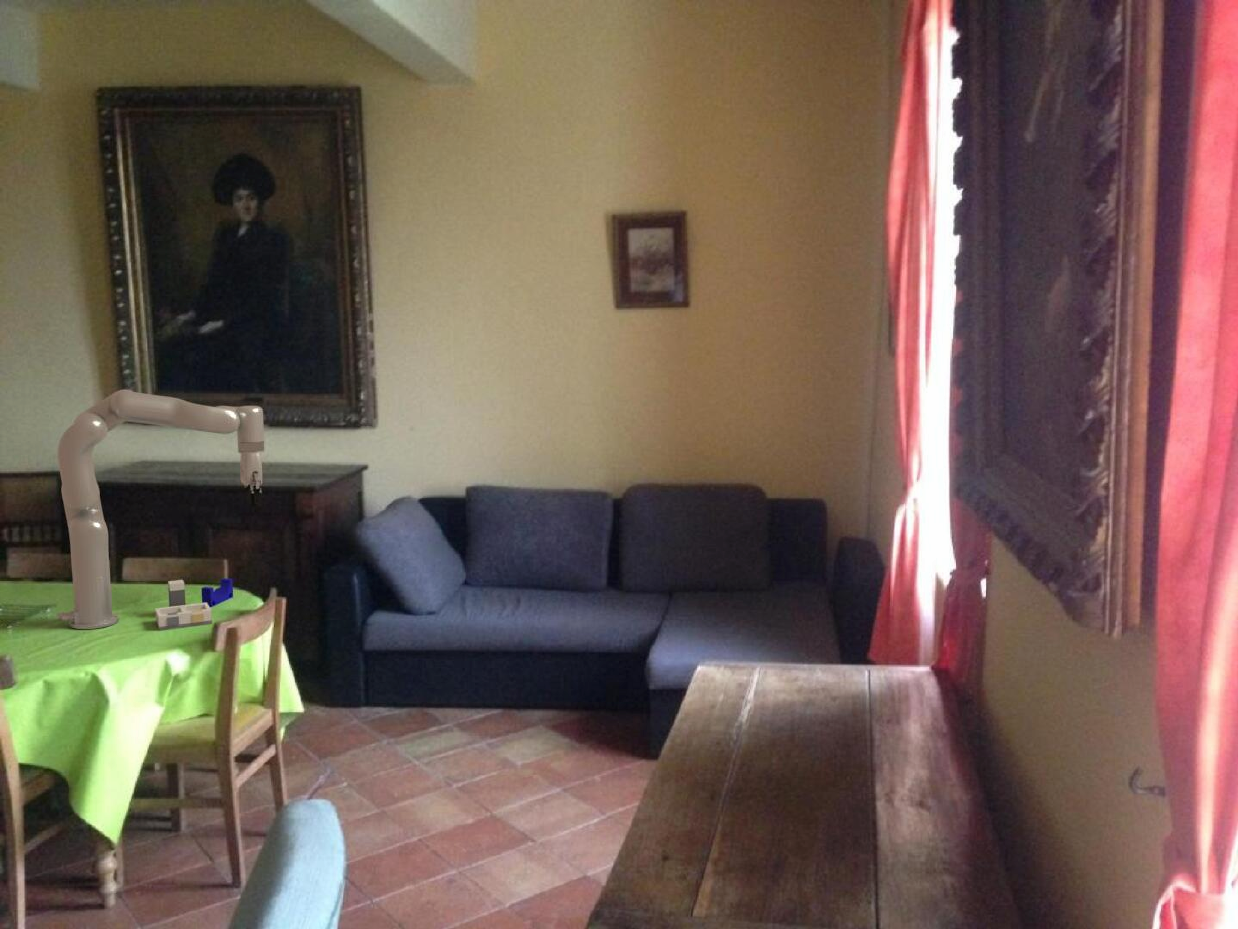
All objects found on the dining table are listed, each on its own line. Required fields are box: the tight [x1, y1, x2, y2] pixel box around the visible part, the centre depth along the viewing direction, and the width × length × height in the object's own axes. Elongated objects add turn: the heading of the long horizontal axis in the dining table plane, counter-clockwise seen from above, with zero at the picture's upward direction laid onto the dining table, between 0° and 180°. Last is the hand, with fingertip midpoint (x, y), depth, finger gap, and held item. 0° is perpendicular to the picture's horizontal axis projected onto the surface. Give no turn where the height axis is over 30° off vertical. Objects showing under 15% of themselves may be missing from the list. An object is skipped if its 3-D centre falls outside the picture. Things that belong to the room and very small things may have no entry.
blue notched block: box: [201, 577, 234, 608], centre depth 326 cm, size 12×4×6 cm, turn 168°
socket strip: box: [154, 602, 213, 631], centre depth 304 cm, size 14×9×4 cm, turn 119°
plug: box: [167, 579, 187, 607], centre depth 312 cm, size 4×4×10 cm
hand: (253, 503), depth 321 cm, fingers open, 9 cm apart
